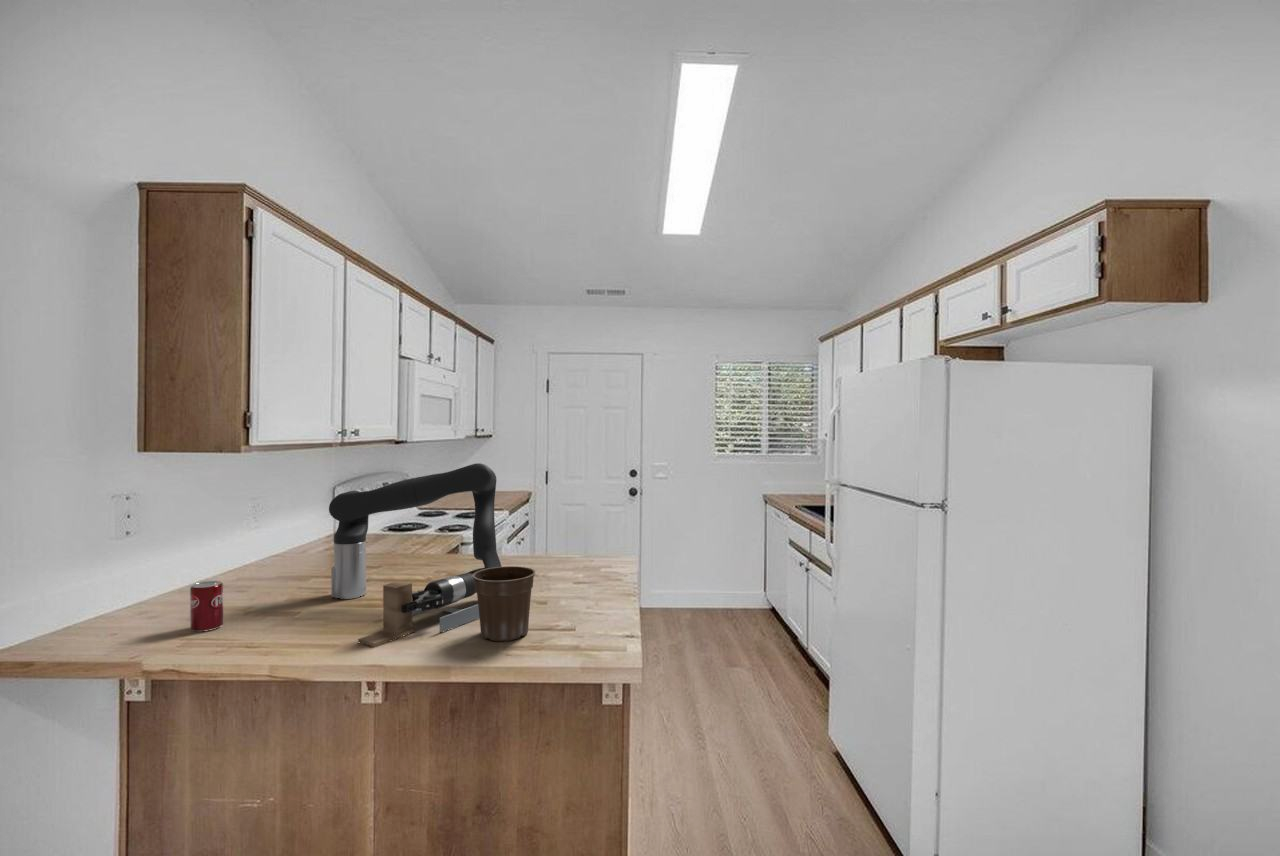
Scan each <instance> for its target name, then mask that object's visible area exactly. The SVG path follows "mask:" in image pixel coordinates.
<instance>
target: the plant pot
mask: <svg viewBox="0 0 1280 856" xmlns="http://www.w3.org/2000/svg"><path fill="white" fill-rule="evenodd" d="M535 575H536V571H535V569H533V568H531V567H525V566H516V565H515V566H513V565H512V566H509V565H508V566H507V565H505V566H502V567H494V568H488V569H483V570H480V571H477V572H475V573H474V574H473V575H472V577H473V579H474V582H475V591H476V592H477V593H476V597H477V604H478V607H479V618H480V619H479V627H480V636H481V638H482V639H484V640H488V639H489V640H490V641H492V642H507V641H508V642H509V641H513V640H517V639H520V638H521V636H522V637H526V635H528V633H529V624H530V623H529V621H530V620H529V619H530V611H531V609H530V608H531V607H530V606H531V599H532V597H531V596H532V589H533V587H534V576H535Z"/></svg>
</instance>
